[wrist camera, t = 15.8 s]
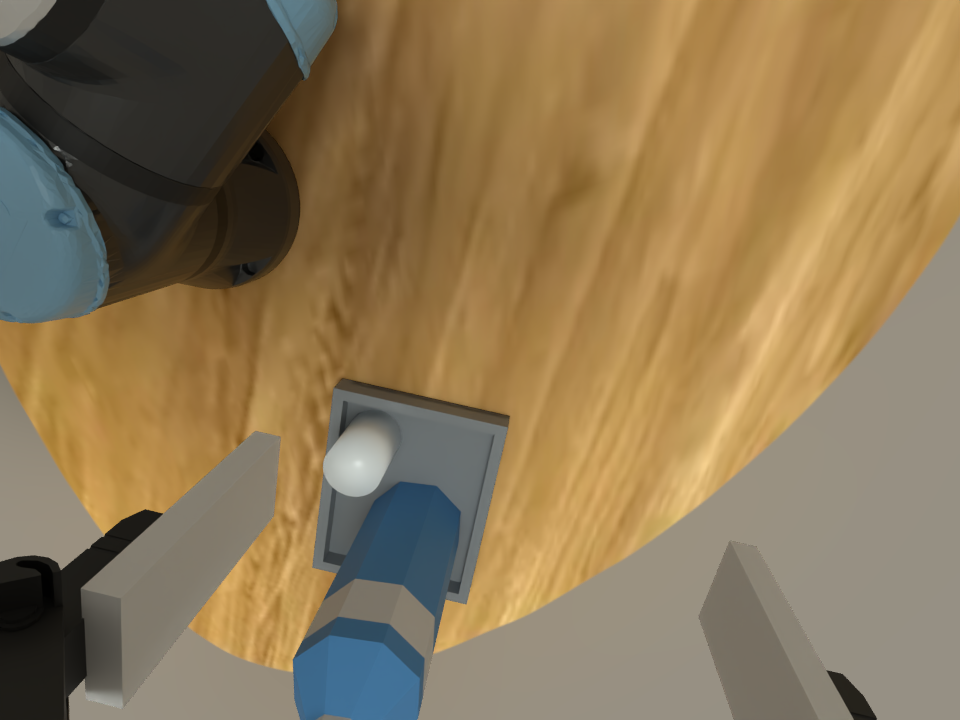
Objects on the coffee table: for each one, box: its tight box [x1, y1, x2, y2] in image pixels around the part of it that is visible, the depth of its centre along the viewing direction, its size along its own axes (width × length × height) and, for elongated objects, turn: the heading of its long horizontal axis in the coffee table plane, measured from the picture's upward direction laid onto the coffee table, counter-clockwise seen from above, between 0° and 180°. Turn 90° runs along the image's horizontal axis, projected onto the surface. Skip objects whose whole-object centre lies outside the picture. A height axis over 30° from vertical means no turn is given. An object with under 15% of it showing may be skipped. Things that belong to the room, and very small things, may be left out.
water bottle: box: [293, 481, 461, 720], centre depth 45 cm, size 9×9×25 cm
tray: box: [312, 379, 510, 604], centre depth 56 cm, size 16×20×2 cm
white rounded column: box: [323, 410, 401, 497], centre depth 51 cm, size 5×5×7 cm
